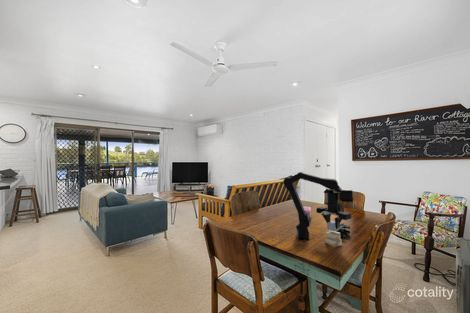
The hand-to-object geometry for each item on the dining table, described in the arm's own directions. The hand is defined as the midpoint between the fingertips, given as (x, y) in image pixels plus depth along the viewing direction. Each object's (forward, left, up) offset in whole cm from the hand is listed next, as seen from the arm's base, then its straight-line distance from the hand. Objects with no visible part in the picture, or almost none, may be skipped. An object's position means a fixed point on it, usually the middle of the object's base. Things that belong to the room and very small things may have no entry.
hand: (333, 227), depth 116 cm
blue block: (0, 0, -1) cm, 1 cm away
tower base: (0, 0, -10) cm, 10 cm away
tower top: (0, 0, -6) cm, 6 cm away
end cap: (+11, +12, -10) cm, 19 cm away
